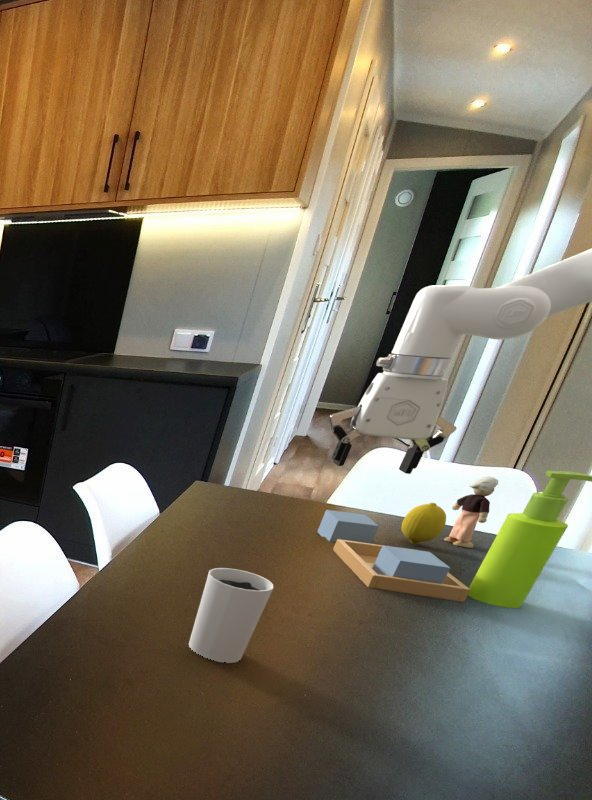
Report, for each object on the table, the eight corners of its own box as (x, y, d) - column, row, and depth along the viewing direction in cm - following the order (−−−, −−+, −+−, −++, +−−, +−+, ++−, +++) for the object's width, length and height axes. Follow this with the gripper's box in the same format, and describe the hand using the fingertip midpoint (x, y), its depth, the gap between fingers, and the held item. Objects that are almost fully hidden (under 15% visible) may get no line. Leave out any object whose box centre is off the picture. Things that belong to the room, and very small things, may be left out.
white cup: (193, 632, 84) (216, 563, 80) (251, 651, 80) (279, 580, 76) (177, 649, 80) (201, 577, 76) (237, 671, 76) (266, 596, 71)
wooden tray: (413, 563, 108) (420, 550, 107) (462, 604, 94) (470, 589, 93) (331, 552, 112) (337, 538, 111) (366, 589, 98) (373, 575, 97)
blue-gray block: (355, 536, 120) (364, 514, 118) (368, 549, 114) (379, 525, 112) (317, 531, 122) (326, 509, 120) (328, 543, 116) (338, 520, 114)
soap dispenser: (535, 616, 91) (616, 481, 83) (471, 603, 94) (542, 473, 86) (521, 601, 96) (596, 472, 87) (459, 589, 99) (526, 464, 90)
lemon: (401, 546, 116) (421, 505, 113) (389, 536, 121) (407, 496, 117) (439, 551, 114) (460, 509, 111) (425, 541, 119) (445, 500, 115)
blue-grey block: (416, 577, 102) (429, 551, 100) (436, 594, 96) (450, 567, 94) (370, 570, 104) (382, 545, 102) (387, 587, 98) (400, 560, 96)
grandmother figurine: (486, 550, 115) (522, 483, 110) (465, 549, 115) (500, 482, 110) (447, 535, 122) (479, 471, 117) (427, 534, 122) (458, 470, 117)
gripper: (359, 365, 105) (318, 466, 112) (494, 374, 99) (441, 480, 106) (344, 361, 111) (306, 457, 119) (470, 369, 105) (422, 470, 113)
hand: (370, 468), depth 112 cm, fingers open, 9 cm apart
